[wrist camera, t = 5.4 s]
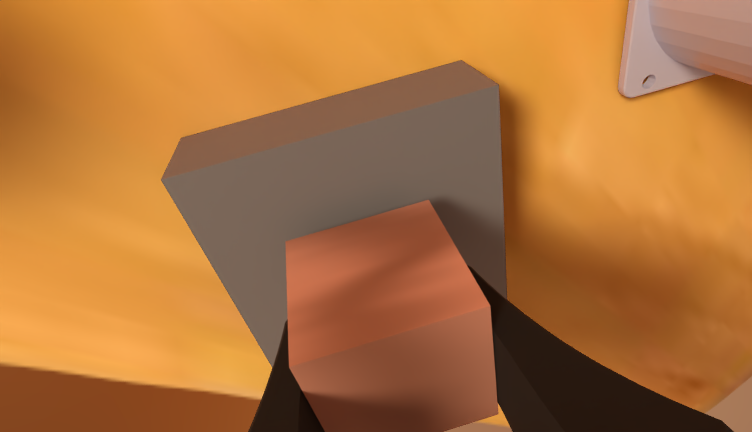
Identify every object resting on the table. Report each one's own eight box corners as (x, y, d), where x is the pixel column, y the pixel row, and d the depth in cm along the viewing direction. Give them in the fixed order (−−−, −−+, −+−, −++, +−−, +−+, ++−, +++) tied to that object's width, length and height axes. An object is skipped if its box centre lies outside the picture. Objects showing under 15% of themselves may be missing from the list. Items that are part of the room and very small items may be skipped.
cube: (428, 199, 13) (490, 305, 9) (445, 299, 15) (498, 414, 12) (285, 241, 13) (289, 367, 9) (326, 335, 15) (342, 463, 11)
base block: (461, 60, 15) (498, 85, 12) (479, 267, 20) (507, 312, 18) (181, 138, 14) (160, 179, 12) (280, 327, 20) (280, 381, 17)
